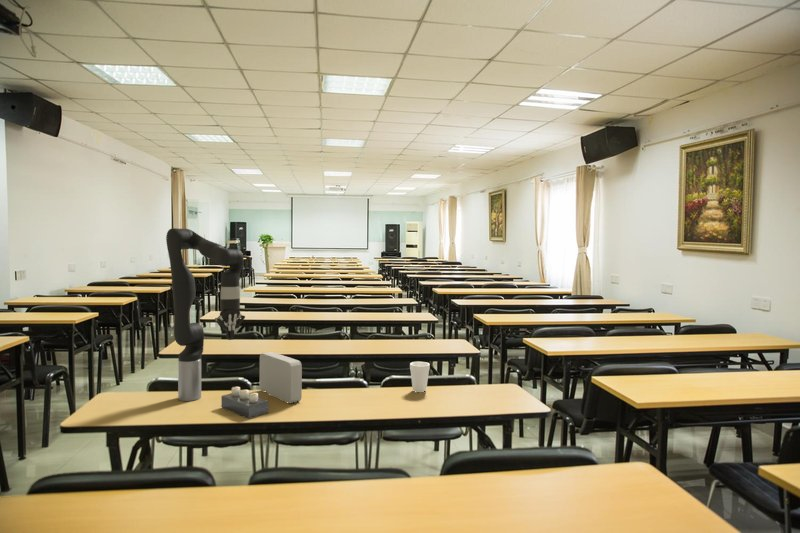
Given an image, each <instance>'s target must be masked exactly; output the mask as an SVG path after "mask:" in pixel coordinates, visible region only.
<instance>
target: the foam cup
mask: <svg viewBox="0 0 800 533" xmlns="http://www.w3.org/2000/svg"><path fill="white" fill-rule="evenodd" d="M409 369H410V376H411V386H412V391H413V390H414V391H416V392H424V391H426V392H427V387H428V379H429V373H430V369H431V366H430V363H429V362H426V361H412V362H410V363H409ZM416 392H415V393H416ZM424 393H425V392H424Z"/></svg>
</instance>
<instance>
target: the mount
mask: <svg viewBox="0 0 800 533" xmlns="http://www.w3.org/2000/svg"><path fill="white" fill-rule="evenodd" d="M220 405H221V406H220V407H222V408H221V409H224V410H227V411H229V412H231V413H234V414H235V415H238V416H240V417H244V418H245V419H248V420H249V419H253V418H257V417H259V416H262V415H265V414H269V400H268V399H265V398H262V397H259V396H258V402H256V403H250V402H249V398H248V399H240V395H239V396H232V392H231V393H228V394H224V395H223V394H222V395H221V404H220Z"/></svg>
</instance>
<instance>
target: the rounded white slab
mask: <svg viewBox="0 0 800 533" xmlns="http://www.w3.org/2000/svg"><path fill="white" fill-rule="evenodd" d="M302 366H303V365H302V362H301V361H300V360H298V359H295V358H292V357H289V356H286V355H283V354H280V353H276V352H274V351H269V352H263V353H260V355H259V390H260V391H261V392H262V391H266V392H267V393H268V394H270V395H269V396H271V395H272V396H271V397H273V396H275V397H277V398H279V399H281V400H283V401H285V402H284V403H286V402H288V403H290V404H294V403H297V401H298V402H301V400H302V397H303V396H302V392H303V390H302V386H303V384H302V383H303V382H302V381H303V380H302V379H303V378H302V376H303V375H302V374H303V368H302ZM268 394H267V395H268ZM275 397H274V398H275ZM277 398H276V399H277ZM279 399H278V400H279ZM281 400H280V401H281ZM283 401H282V402H283ZM293 402H294V403H293ZM288 403H287V404H288Z"/></svg>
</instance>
